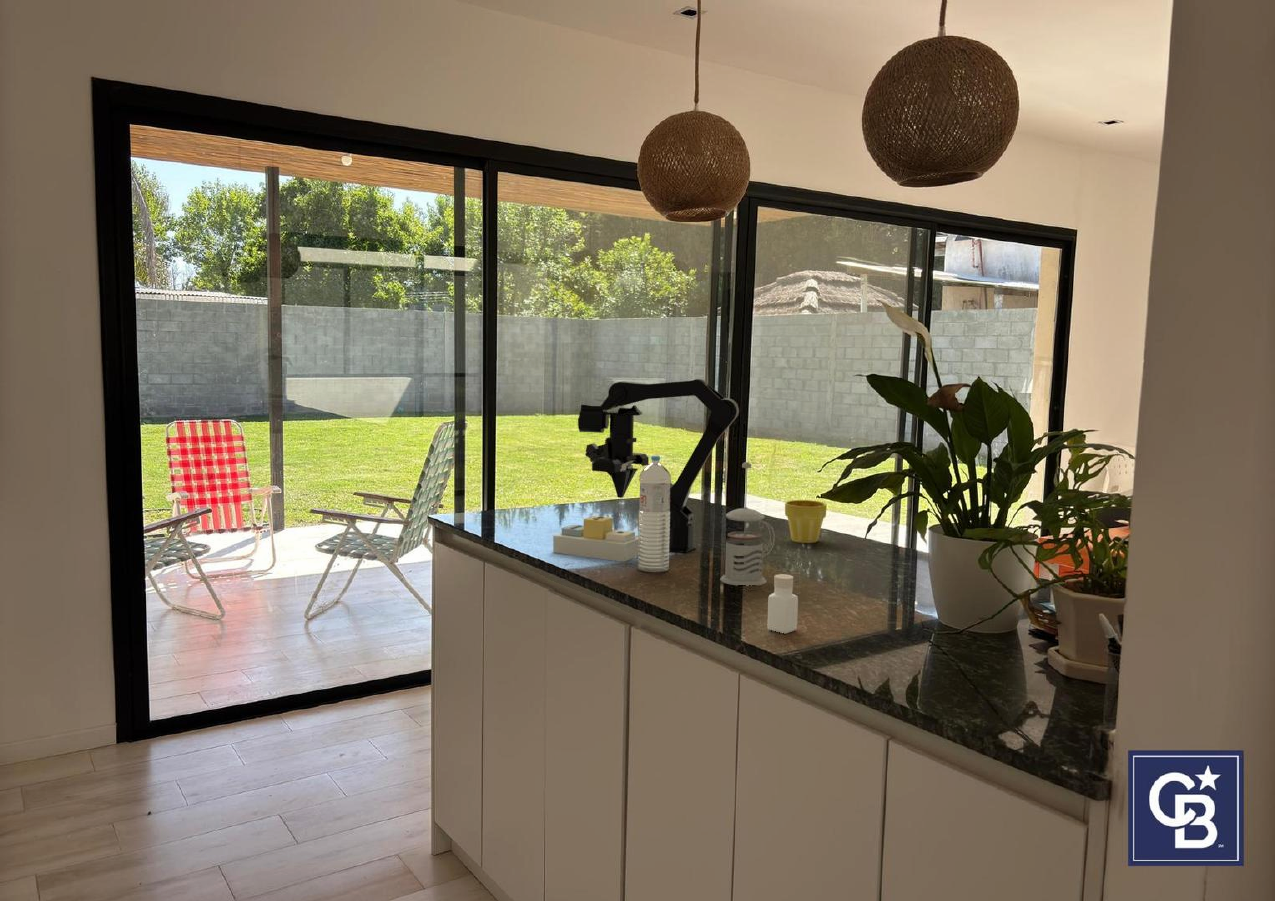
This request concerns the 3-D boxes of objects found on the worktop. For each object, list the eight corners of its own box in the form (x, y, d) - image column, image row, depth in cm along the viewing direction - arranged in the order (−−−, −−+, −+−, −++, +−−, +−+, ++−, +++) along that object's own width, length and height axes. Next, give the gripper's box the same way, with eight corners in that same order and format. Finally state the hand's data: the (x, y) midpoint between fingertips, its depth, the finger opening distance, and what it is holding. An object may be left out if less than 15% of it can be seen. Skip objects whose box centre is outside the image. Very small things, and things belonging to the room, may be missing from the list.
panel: (642, 554, 220) (642, 537, 220) (624, 561, 212) (624, 544, 212) (572, 545, 229) (573, 529, 228) (553, 552, 221) (553, 535, 220)
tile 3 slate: (590, 547, 224) (590, 525, 223) (579, 551, 220) (579, 529, 219) (572, 545, 226) (572, 523, 226) (561, 548, 222) (561, 527, 221)
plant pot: (795, 545, 233) (797, 507, 232) (776, 537, 243) (778, 500, 242) (832, 543, 236) (834, 505, 235) (812, 535, 246) (813, 499, 245)
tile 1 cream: (634, 553, 219) (635, 531, 218) (624, 557, 214) (625, 534, 214) (615, 550, 221) (616, 529, 220) (605, 554, 216) (605, 532, 216)
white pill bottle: (798, 630, 162) (800, 576, 161) (785, 635, 159) (787, 580, 158) (778, 625, 164) (780, 572, 163) (765, 630, 161) (767, 576, 160)
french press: (712, 576, 200) (715, 459, 197) (760, 572, 204) (764, 458, 201) (732, 587, 190) (736, 465, 188) (782, 583, 195) (787, 464, 192)
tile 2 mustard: (612, 538, 221) (612, 517, 220) (602, 542, 217) (602, 520, 216) (594, 536, 223) (594, 515, 223) (583, 540, 219) (583, 518, 218)
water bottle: (666, 574, 201) (668, 458, 198) (634, 572, 202) (636, 457, 200) (671, 567, 207) (673, 455, 205) (641, 565, 209) (643, 453, 206)
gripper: (610, 429, 238) (609, 490, 240) (572, 434, 221) (572, 499, 223) (650, 431, 233) (648, 493, 234) (614, 437, 216) (613, 503, 218)
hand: (620, 497), depth 228 cm, fingers closed
